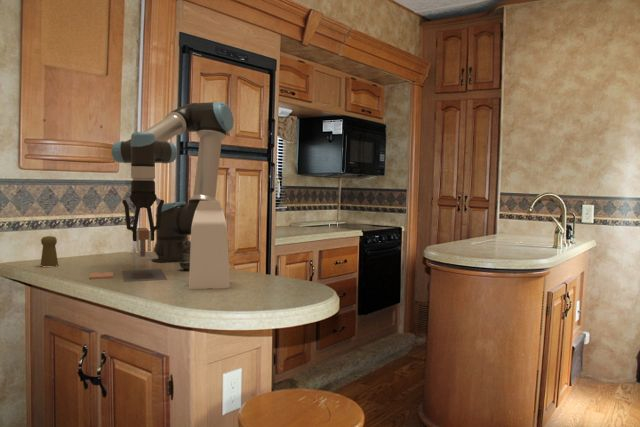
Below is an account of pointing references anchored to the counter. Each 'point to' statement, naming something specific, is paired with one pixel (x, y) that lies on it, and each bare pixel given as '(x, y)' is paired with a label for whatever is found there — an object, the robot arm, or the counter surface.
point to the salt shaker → (186, 255)
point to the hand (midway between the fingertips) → (143, 250)
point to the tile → (101, 275)
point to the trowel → (143, 246)
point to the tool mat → (143, 275)
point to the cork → (49, 251)
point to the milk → (209, 247)
